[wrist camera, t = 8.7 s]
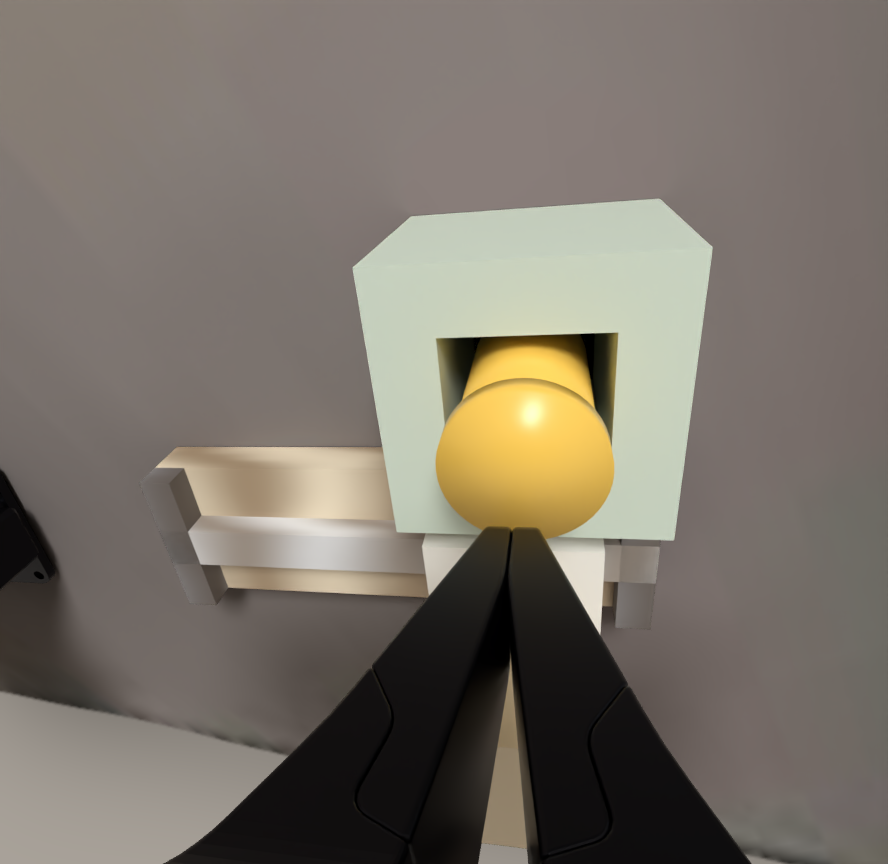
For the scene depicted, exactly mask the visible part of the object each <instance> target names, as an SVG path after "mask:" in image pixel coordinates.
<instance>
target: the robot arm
mask: <svg viewBox="0 0 888 864" xmlns="http://www.w3.org/2000/svg"><path fill="white" fill-rule="evenodd" d="M54 575H55V571H54V569H53V567H52V565H51V563H50V561H49V560H48V558H47V556H46V554H45V552H44V551H43V549H42V547H41V545H40V543H39V542H38V540H37V538H36V536H35V534H34V533H33V531H32V529H31V527H30V525H29V524H28V522H27V520H26V518H25V517H24V515H23V513H22V511H21V509H20V508H19V506H18V504H17V502H16V500H15V499H14V497H13V495H12V493H11V491H10V490H9V488H8V486H7V484H6V482H5V481H4V479H3V477H2V475H1V474H0V590H1V589H2V588H4V587H5V586H6V585H7V584H8V583H9V582H30V583H47V582H48V581H49V580H50V579H51V578H52V577H53V576H54ZM510 662H511V668H512V684H513V696H514V707H515V718H516V729H517V741H518V752H519V763H520V774H521V786H522V797H523V808H524V820H525V831H526V842H527V852H528V864H751V862H750V861H749V860H748V858H747V857H746V856H745V854H744V853H743V851H742V850H741V849H740V847H739V846H738V845H737V843H736V842H735V841H734V839H733V838H732V837H731V835H730V834H729V833H728V831H727V830H726V829H725V827H724V826H723V824H722V823H721V822H720V820H719V819H718V818H717V816H716V815H715V814H714V812H713V811H712V810H711V808H710V807H709V806H708V804H707V803H706V802H705V800H704V799H703V798H702V796H701V795H700V793H699V792H698V791H697V789H696V788H695V787H694V785H693V784H692V783H691V781H690V780H689V778H688V777H687V776H686V774H685V773H684V771H683V770H682V768H681V767H680V766H679V764H678V763H677V761H676V760H675V758H674V757H673V756H672V754H671V753H670V751H669V750H668V748H667V747H666V746H665V744H664V742H663V741H662V739H661V738H660V736H659V734H658V733H657V731H656V729H655V728H654V726H653V725H652V723H651V721H650V720H649V718H648V717H647V715H646V713H645V712H644V710H643V708H642V707H641V705H640V703H639V701H638V700H637V698H636V696H635V694H634V693H633V691H632V689H631V688H630V687H628V683H627V681H626V679H625V677H624V676H623V674H622V672H621V670H620V669H619V667H618V665H617V663H616V662H615V660H614V658H613V657H612V655H611V653H610V651H609V650H608V648H607V646H606V644H605V643H604V641H603V639H602V637H601V636H600V634H599V632H598V630H597V629H596V627H595V625H594V623H593V622H592V620H591V618H590V616H589V615H588V613H587V611H586V609H585V608H584V606H583V604H582V602H581V601H580V599H579V597H578V595H577V594H576V592H575V590H574V588H573V587H572V585H571V583H570V582H569V580H568V578H567V576H566V575H565V573H564V571H563V569H562V568H561V566H560V564H559V562H558V561H557V559H556V557H555V555H554V554H553V552H552V550H551V548H550V547H549V545H548V543H547V541H546V540H545V538H544V536H543V534H542V533H541V531H540V530H539V529H538V528H536V527H515V528H514V529H513V530H511V528H510V527H504V526H488V527H486V528H484V530H483V531H482V532H481V533H480V534H479V536H478V537H477V538H476V539H475V541H474V542H473V543H472V544H471V545H470V547H469V548H468V549H467V550H466V551H465V553H464V554H463V555H462V556H461V558H460V559H459V560H458V561H457V562H456V564H455V565H454V566H453V567H452V568H451V570H450V571H449V572H448V573H447V575H446V576H445V577H444V578H443V579H442V581H441V582H440V583H439V584H438V585H437V587H436V588H435V589H434V590H433V592H432V593H431V594H430V595H429V596H428V598H427V599H426V600H425V601H424V603H423V604H422V605H421V606H420V607H419V609H418V610H417V611H416V612H415V613H414V615H413V616H412V617H411V618H410V620H409V621H408V622H407V623H406V624H405V626H404V627H403V628H402V629H401V630H400V632H399V633H398V634H397V635H396V637H395V638H394V639H393V640H392V641H391V643H390V644H389V645H388V646H387V647H386V649H385V650H384V651H383V652H382V654H381V655H380V656H379V657H378V658H377V660H376V661H375V662H374V663H373V665H372V668H370V669H368V670H367V671H366V673H365V674H364V675H363V676H362V677H361V679H360V680H359V681H358V682H357V684H356V685H355V686H354V687H353V688H352V689H351V691H350V692H349V693H348V694H347V695H346V696H345V698H344V699H343V700H342V701H341V702H340V703H339V704H338V706H337V707H336V708H335V709H334V710H333V711H332V712H331V714H330V715H329V716H328V717H327V718H326V719H325V720H324V721H323V722H322V723H321V724H320V725H319V726H318V727H317V728H316V729H315V730H314V731H313V732H312V733H311V734H310V735H309V736H308V737H307V738H306V739H305V740H304V741H303V742H302V743H301V744H300V745H299V746H298V747H297V748H296V749H295V750H294V751H293V752H292V753H291V754H290V755H289V756H288V757H287V758H286V759H285V760H284V761H283V762H282V763H281V764H280V765H279V766H278V767H277V768H276V769H275V770H274V771H273V772H272V773H271V774H270V775H269V776H268V777H267V778H266V779H265V780H264V781H263V782H262V783H261V784H260V785H259V786H258V787H257V788H256V789H254V790H253V791H252V792H251V793H250V794H249V795H248V796H247V797H246V798H245V799H244V800H243V801H242V802H241V803H240V804H239V805H238V806H237V807H236V808H235V809H234V810H233V811H232V812H231V813H230V814H229V815H228V816H227V817H226V818H225V819H224V820H223V821H221V822H220V823H219V824H218V825H217V826H216V827H215V828H214V829H213V830H212V831H210V832H209V833H208V834H207V835H206V836H204V837H203V838H202V839H201V840H199V841H198V842H197V843H195V844H194V845H193V846H191V847H190V848H188V849H187V850H186V851H184V852H183V853H181V854H180V855H178V856H176V857H174V858H173V859H171V860H169V861H168V862H166V863H164V864H478V861H479V854H480V849H481V843H482V837H483V831H484V825H485V819H486V813H487V807H488V801H489V795H490V789H491V782H492V776H493V770H494V764H495V758H496V752H497V746H498V740H499V734H500V728H501V722H502V716H503V710H504V704H505V698H506V692H507V686H508V679H509V672H510Z"/></svg>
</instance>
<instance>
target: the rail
mask: <svg viewBox="0 0 888 864" xmlns="http://www.w3.org/2000/svg"><path fill="white" fill-rule="evenodd" d="M139 484H140V487H141V489H142V492H143V494H144V496H145V499H146V501H147V503H148V506H149V508H150V511H151V513H152V515H153V518H154V520H155V522H156V525H157V527H158V530H159V532H160V534H161V537H162V539H163V541H164V544H165V546H166V548H167V551H168V553H169V556H170V558H171V560H172V563H173V565H174V567H175V570H176V572H177V575H178V577H179V579H180V582H181V584H182V586H183V589H184V591H185V593H186V596H187V598H188V601H189V603H190V604H200V605H217V604H218V603H219V601H220V600H221V598H222V596H223V595H224V593H225V592H226V590H227V589H228V588H248V589H268V590H288V591H308V592H328V593H348V594H368V595H389V596H409V597H428V596H429V593H428V586H427V579H426V572H425V565H424V558H423V551H422V545H423V541H424V538H425V534H426V533H404V532H397V531H396V525H395V519H394V513H393V507H392V501H391V495H390V489H389V483H388V477H387V471H386V465H385V459H384V453H383V447H177V448H175V449H174V450H173V451H172V452H171V453H170V454H169V455H168V456H167V457H166V458H165V459H164V460H163V461H162V462H161V463H160V464H159V465H157V466H156V467H155V468H154V469H153V470H152V471H151V472H150V473H149V474H148V475H147V476H146V477H145V478H144V479H143V480H142V481H141V482H139ZM603 540H604V548H605V563H604V580H603V597H602V606H610V607H613V615H614V623H615V628H629V629H647V630H650V628H651V619H652V611H653V602H654V594H655V585H656V577H657V568H658V560H659V552H660V543H661V540H643V539H609V538H603Z"/></svg>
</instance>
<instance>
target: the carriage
mask: <svg viewBox="0 0 888 864" xmlns="http://www.w3.org/2000/svg"><path fill="white" fill-rule="evenodd" d="M478 536H479V535H473V534H439V533H426V534H425V538H424V541H423V545H422V551H423V558H424V565H425V572H426V579H427V586H428V593H429V595H430V594H431V593H432V592H433V590H434V589H435V588H436V587H437V585H438V584H439V583H440V582H441V581H442V579H443V578H444V577H445V576H446V575H447V573H448V572H449V571H450V570H451V568H452V567H453V566H454V565H455V564H456V562H457V561H458V560H459V559H460V558H461V556H462V555H463V554H464V553H465V551H466V550H467V549H468V548H469V547H470V545H471V544H472V543H473V542H474V541H475V539H476V538H477V537H478ZM545 540H546V541H547V543H548V545H549V547H550V548H551V550H552V552H553V554H554V555H555V557H556V559H557V561H558V562H559V564H560V566H561V568H562V569H563V571H564V573H565V575H566V576H567V578H568V580H569V582H570V583H571V585H572V587H573V588H574V590H575V592H576V594H577V595H578V597H579V599H580V601H581V602H582V604H583V606H584V608H585V609H586V611H587V613H588V615H589V616H590V618H591V620H592V622H593V623H594V625H595V627H596V629H597V630H598V632H599V634H600V632H601V615H602V597H603V580H604V563H605V548H604V540H603V538H575V537H553V538H548V539H545ZM482 843H485V844H494V845H501V846H509V847H518V848H525V849H527V842H526V831H525V820H524V808H523V797H522V786H521V774H520V763H519V752H518V741H517V729H516V718H515V707H514V696H513V684H512V668H511V662H510V672H509V679H508V686H507V692H506V698H505V704H504V710H503V716H502V722H501V728H500V734H499V740H498V746H497V752H496V758H495V764H494V770H493V776H492V782H491V789H490V795H489V801H488V807H487V813H486V819H485V825H484V831H483V837H482Z"/></svg>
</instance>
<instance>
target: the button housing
mask: <svg viewBox="0 0 888 864" xmlns="http://www.w3.org/2000/svg"><path fill="white" fill-rule="evenodd" d="M712 249H713V247H712V246H711V245H709V244H708V243H707V242H706V241H705V240H704V239H703V238H702V237H701V236H700V235H699V234H698V233H696V232H695V231H694V230H693V229H692V228H691V227H690V226H689V225H688V224H687V223H686V222H684V221H683V220H682V219H681V218H680V217H679V216H678V215H677V214H676V213H675V212H674V211H673V210H671V209H670V208H669V207H668V206H667V205H666V204H665V203H664V202H663V201H662V200H661V199H648V200H634V201H620V202H606V203H592V204H578V205H564V206H550V207H536V208H522V209H508V210H494V211H480V212H466V213H452V214H438V215H424V216H411V217H410V218H409V219H408V220H407V221H405V222H404V223H403V224H402V225H401V226H400V227H399V228H397V229H396V230H395V231H394V232H393V233H392V234H391V235H389V236H388V237H387V238H386V239H385V240H384V241H383V242H381V243H380V244H379V245H378V246H377V247H376V248H375V249H373V250H372V251H371V252H370V253H369V254H368V255H367V256H365V257H364V258H363V259H362V260H361V261H360V262H359V263H357V264H356V265H355V266H354V267H353V273H354V279H355V285H356V291H357V297H358V303H359V309H360V315H361V321H362V327H363V333H364V339H365V345H366V351H367V357H368V363H369V369H370V375H371V381H372V387H373V393H374V399H375V405H376V411H377V417H378V423H379V429H380V435H381V441H382V447H383V453H384V459H385V465H386V471H387V477H388V483H389V489H390V495H391V501H392V507H393V513H394V519H395V525H396V531H397V532H404V533H439V534H473V535H479V534H480V533H481V532H482V531H483V530H481V529H479V528H477V527H475V526H473V525H472V524H471V523H469V522H468V521H466V520H465V519H464V518H463V517H461V516H460V515H459V514H458V513H457V512H456V511H455V510H454V509H453V508H452V507H451V505H450V504H449V502H448V501H447V500H446V498H445V496H444V494H443V492H442V491H441V488H440V486H439V483H438V480H437V474H436V463H435V461H436V452H437V448H438V445H439V441H440V438H441V435H442V432H443V429H444V426H445V424H446V422H447V419H448V418H449V416H450V414H451V413H452V411H453V410H454V409H455V408H456V406H457V405H458V404H459V403H460V402H461V401H462V398H463V395H464V391H465V388H466V384H467V381H468V377H469V374H470V370H471V367H472V363H473V360H474V356H475V352H474V337H493V336H524V335H555V334H586V333H595V336H594V362H593V379H591V386H592V392H593V399H594V406H595V410H596V411H597V412H598V414H599V415H600V416H601V418H602V420H603V422H604V424H605V425H606V428H607V431H608V433H609V436H610V442H611V447H612V453H613V458H614V479H613V484H612V487H611V490H610V493H609V495H608V497H607V499H606V501H605V502H604V504H603V505H602V507H601V508H600V509H599V511H598V512H597V513H596V514H595V515H594V516H593V517H592V518H591V519H589V520H588V521H587V522H586V523H584V524H583V525H581V526H580V527H578V528H576V529H574V530H572V531H570V532H568V533H566V534H563V535H560V536H557V537H575V538H609V539H643V540H674V537H675V529H676V522H677V514H678V507H679V499H680V491H681V484H682V476H683V469H684V461H685V454H686V446H687V438H688V431H689V423H690V416H691V408H692V401H693V393H694V385H695V378H696V370H697V363H698V355H699V348H700V340H701V333H702V325H703V317H704V310H705V302H706V295H707V287H708V280H709V272H710V264H711V257H712Z"/></svg>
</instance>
